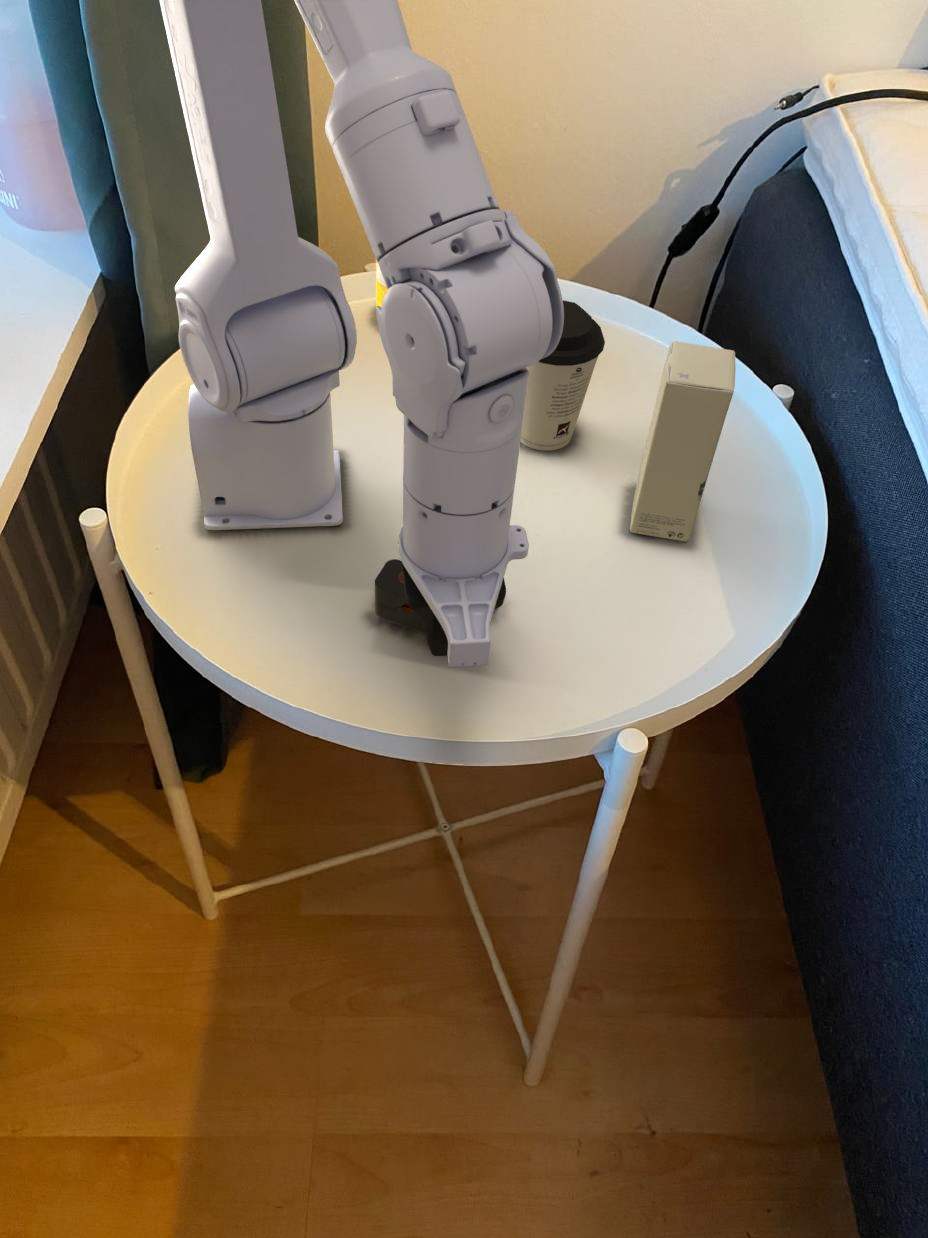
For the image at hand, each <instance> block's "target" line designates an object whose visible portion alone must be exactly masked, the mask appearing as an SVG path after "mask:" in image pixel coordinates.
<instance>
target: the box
mask: <svg viewBox="0 0 928 1238" xmlns="http://www.w3.org/2000/svg"><path fill="white" fill-rule="evenodd" d="M735 386H736V352H735V351H734V349H733V350H732V349H728V348H727V349H726V348H721V347H715V346H708V345H703V344H702V345H701V344H695V343H689V342H683V341H677V340H671V342H670V343H669V346H668V350H667V353H666V358H665V362H664V366H663V370H662V374H661V378H660V382H659V387H658V392H657V395H656V399H655V404H654V409H653V413H652V416H651V417H652V418H651V421H650V426H649V428H648V429H649V430H648V433H647V438H646V442H645V446H644V451H643V457H642V461H641V465H640V469H639V473H638V477H637V482H636V485H635V491H634V495H633V500H632V509H631V515H630V524H629V525H630V526H629V531H630V533H633V534H639V535H644V536H649V537H655V538H661V539H669V540H675V541H680V542H689V540H690V537H691V535H692V532H693V529H694V525H695V522H696V518H697V515H698V511H699V508H700V506H701V505H700V503H701V502H702V499H703V494H704V491H705V487H706V485H707V481H708V477H709V473H710V472H711V471H710V470H711V468H712V464H713V461H714V457H715V454H716V452H717V448H718V444H719V441H720V437H721V434H722V431H723V428H724V424H725V421H726V418H727V414H728V411H729V408H730V404H731V402H732V399H733V396H734V392H735Z"/></svg>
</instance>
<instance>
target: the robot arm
mask: <svg viewBox="0 0 928 1238" xmlns="http://www.w3.org/2000/svg"><path fill="white" fill-rule="evenodd" d="M293 2H294V3H295V5H296V8H297V10H298V12H299V14H300V16H301V18H302V20H303V22H304V24H305V26H306V28H307V30H308V33H309V35H310V36H311V37H310V38H312V41H313V43H314V45H315V47H316V49H317V51H318V54H319V56H320V58H321V59H322V61H323V63H324V66H325V67H326V70H327V72H328V74H329V76H330V78H331V80H332V83H333V93H332V97H331V100H330V104H329V106H328V107H329V108H328V110H327V113H326V118H325V122H324V133H325V136H326V138H327V140H328V144H329V145H330V147H331V148H330V149H331V150H332V153H333V156H334V158H335V160H336V162H337V167H338V168H339V170H340V172H341V175H342V178H343V180H344V183H345V185H346V188H347V190H348V192H349V195H350V198H351V200H352V203H353V205H354V208H355V210H356V213H357V215H358V217H359V220H360V222H361V225H362V228H363V230H364V232H365V235H366V237H367V240H368V243H369V244H370V247H371V250H372V253H373V255H374V257H375V261H376V260H377V262H378V265H379V268H380V270H381V273H382V275H383V278H384V280H385V283H386V285H387V287H388V290H387V292H386V294H385V296H384V299H383V302H382V308H381V307H380V306H377V307H376V306H375V311H376V312H377V314H376V321H377V328H378V333H379V337H380V340H381V343H382V347H383V350H384V352H385V355H386V357H387V361H388V363H389V366H390V370H391V377H392V396H393V397H394V399H395V405H396V408H397V410H398V411H400V413H401V414H403V463H402V464H403V470H402V471H403V472H402V476H403V477H402V525H401V528H400V531H399V534H398V554H399V558H400V560H401V561H402V568H403V578H404V588H405V597H406V600H407V602H408V605H409V607H410V609H411V610H412V611H413V612H415V613H416V614H417V615H418V616H419V618H420V619H421V621H422V623H423V625H424V629H425V633H426V634H425V638H426V642H427V646H428V649H429V651H430V654H431V655H432V656H433V657H446V656H447V662H448V667H450V668H458V667H461V668H464V667H465V668H466V667H475V666H477V667H478V666H488V664H489V655H490V648H491V647H490V646H491V635H490V633H491V632H490V626H491V621H492V618H493V614H494V611H496V610H497V609H499V608H501V607H502V606H503V605H504V602H505V600H506V597H507V596H506V595H507V587H506V582H505V575H506V571H507V568H508V565H509V563H510V562H511V561H515V560H522V559H526V558H527V557H528V555H529V548H530V543H529V539H528V534H527V531H526V529H525V528H524V527H522V526H521V525H517V524H516V525H511V519H512V510H513V504H514V503H513V502H514V494H515V486H516V479H517V472H518V463H519V456H520V448H521V442H520V440H521V432H522V424H523V416H524V408H525V400H526V392H527V384H528V376H529V371H528V370H527V369H526V367H528V366H531V365H533V364H535V363H537V362H538V361H539V360H540V359H543V358H545V357H547V356H549V355H550V354H551V353H552V352H553V351H554V350H555V348H556V347H557V345H558V343H559V341H560V338H561V335H562V331H563V324H564V307H563V296H562V295H563V294H562V290H561V287H560V284H559V280H558V275H557V270H556V267H555V265H554V263H553V262H552V260H551V258H550V257H549V255H548V254H547V252H546V251H545V250H544V249H543V247H542V245H540V244H539V242H537V241H536V240H535V239H534V238H532V237H531V236H530V235H529V234H528V233H526V231H525V230H524V228H523V227H522V225H521V223H520V220H519V218H518V216H517V215H514V213H513V212H512V210H511V209H510V208H508V209H504V210H500V205H499V201H498V200H497V197H496V195H495V192H494V188H493V186H492V184H491V181H490V178H489V175H488V173H487V170H486V168H485V165H484V162H483V160H482V156H481V155H480V152H479V149H478V148H479V147H478V146H477V143H476V140H475V138H474V135H473V132H472V130H471V127H470V125H469V121H468V119H467V116H466V113H465V110H464V108H463V105H462V102H461V100H460V97H459V94H458V92H457V89H456V86H455V84H454V81H453V78H452V76H451V74H450V73H449V71H448V70H446V69H445V68H444V67H443V66H441V65H439V64H437V63H436V62H434V61H432V60H430V59H428V58H426V57H424V56H422V55H420V54H418V53H417V52H415V51H414V50H413V48H412V45H411V41H410V38H409V34H408V31H407V27H406V24H405V22H404V21H405V20H404V18H403V13H402V11H401V7H400V4H399V1H398V0H293ZM159 4H160V9H161V14H162V19H163V23H164V27H165V28H164V29H165V32H166V33H165V34H166V37H167V42H168V46H169V51H170V56H171V60H172V65H173V70H174V74H175V79H176V84H177V88H178V93H179V99H180V103H181V108H182V112H183V117H184V121H185V125H186V126H185V127H186V130H187V135H188V139H189V144H190V149H191V155H192V159H193V162H194V167H195V172H196V177H197V181H198V186H199V190H200V195H201V201H202V205H203V209H204V214H205V218H206V219H205V220H206V224H207V227H208V233H209V236H210V240H209V242H208V244H207V245H206V246H205V248H204V249H203V250H202V252H201V253H199V255H198V256H197V257H196V259H195V260H194V261H193V262H192V263H191V264H190V266H189V267H188V268H187V270H185V272H184V273H183V274H182V275H181V276H180V278H179V280H178V281H177V282H176V283H175V286H174V292H175V293H176V294H175V295H176V296H175V302H176V309H177V316H178V322H179V323H178V324H179V328H178V343H179V348H180V353H181V356H182V359H183V363H184V365H185V367H186V371H187V373H188V375H189V377H190V379H191V382H192V384H191V385H190V387H189V391H188V408H187V409H188V411H187V413H188V417H187V418H188V430H189V441H190V447H191V448H190V449H191V454H192V459H193V465H194V470H195V474H196V480H197V485H198V490H199V491H198V492H199V495H200V500H201V505H202V511H203V524H204V528H205V530H208V531H226V530H228V531H229V530H255V529H279V528H280V529H283V528H304V527H306V528H308V527H309V528H311V527H333V526H334V527H335V526H340V525H341V524H342V523H343V521H344V516H343V496H342V494H343V493H342V479H341V478H342V477H341V457H340V451H339V450H338V449H336V448H334V435H333V416H332V415H333V414H332V398H331V392H332V391H333V390H335V389H337V388H338V387H340V385H341V384H340V371H342V370H345V369H346V368H348V367H350V366H351V364H352V363H353V362H354V359H355V355H356V349H357V343H358V334H357V333H358V332H357V327H356V322H355V317H354V315H353V312H352V308H351V306H350V305H349V302H348V299H347V298H346V294H345V290H344V287H343V283H342V278H341V274H340V267H339V265H338V263H336V261H335V260H334V259H333V258H332V256H330V255H329V254H328V253H327V252H326V251H325V250H323V249H322V248H320V247H319V246H317V245H315V244H313V243H311V242H309V241H307V240H305V239H303V238H302V237H299V233H298V229H297V223H296V215H295V209H294V202H293V197H292V190H291V184H290V178H289V177H290V176H289V169H288V165H287V164H288V163H287V158H286V151H285V144H284V139H283V132H282V126H281V121H280V114H279V106H278V100H277V94H276V93H277V92H276V88H275V81H274V74H273V68H272V61H271V56H270V55H271V54H270V48H269V43H268V36H267V30H266V23H265V16H264V9H263V4H262V0H159Z"/></svg>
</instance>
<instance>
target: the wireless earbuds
mask: <svg viewBox="0 0 928 1238" xmlns="http://www.w3.org/2000/svg"><path fill="white" fill-rule="evenodd" d="M374 613H375V615H376V616H377V618H378V619H380V620H382V621H385V622H388V623H392V624H394V625H397V626H401V627H403V628H405V629H409V630H412V631H415V632H416V633H420V634H423V635H426V633H425V629H424V625H423V623H422V621H421V619H420V618H419V616H418V615H417V614H416V613H415V612H413V611H412V610H411V609H410V607H409V605H408V602H407V600H406V597H405V588H404V578H403V568H402V561H401V559H396V558H394V559H393V558H392V559H389V560H387V561H386V562H385V563H384V565H383V566H382V568H381V570H380V571H379V573H378V574H377V576H376V577H375V579H374Z"/></svg>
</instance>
